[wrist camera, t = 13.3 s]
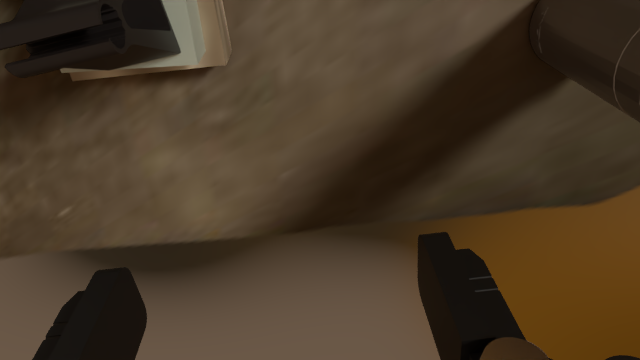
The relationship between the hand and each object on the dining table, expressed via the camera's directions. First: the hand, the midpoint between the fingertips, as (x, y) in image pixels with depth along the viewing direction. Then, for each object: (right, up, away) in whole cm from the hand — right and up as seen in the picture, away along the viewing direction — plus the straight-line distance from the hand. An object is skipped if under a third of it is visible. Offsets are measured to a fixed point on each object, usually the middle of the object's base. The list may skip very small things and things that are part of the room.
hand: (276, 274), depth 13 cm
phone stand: (-14, +16, +22) cm, 31 cm away
